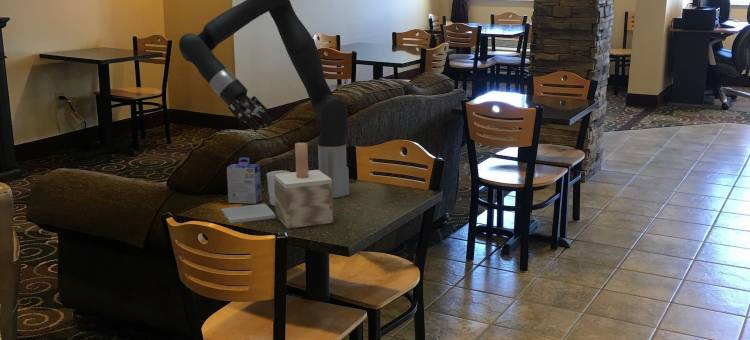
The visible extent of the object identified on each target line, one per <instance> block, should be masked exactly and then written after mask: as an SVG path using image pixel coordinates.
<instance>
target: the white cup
mask: <svg viewBox="0 0 750 340" xmlns="http://www.w3.org/2000/svg"><path fill="white" fill-rule="evenodd" d="M281 173H291V171H289V170H274V171H270V172H269V171H268V172H267V173H266V179H267V190H268V197H269V204H270V205H271V206H273V207H274V206H275V188H274V174H281Z"/></svg>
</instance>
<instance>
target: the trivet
mask: <svg viewBox="0 0 750 340" xmlns="http://www.w3.org/2000/svg"><path fill="white" fill-rule="evenodd" d="M220 210H221V211H220V212H221V213H222V215H223V214H224V215H223V216H224V217H225V219H226V218H227V219H228V220H227V219H226V220H227V222H228V223H229V222H230V223H229V224H236V223H237V222H238V223H244V222H254V221H261V220H263V221H264V220H269V219H270V220H271V219H272V220H273V219H277V217H276V213H275V212H274V210H273V211H272V209H271V208H270V207H269V206H268V205H267V204H266V203H260V204H253V205H252V204H250V205H242V206H232V207H226V208H224V207H223V208H220ZM235 222H236V223H235Z"/></svg>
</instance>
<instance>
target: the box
mask: <svg viewBox="0 0 750 340" xmlns="http://www.w3.org/2000/svg"><path fill="white" fill-rule="evenodd" d="M274 188H275V215H276V219H278V221H280V222H281V223H282V224H283V225H284V226H285V227H286V228H287V229H293V228H301V227H308V226H311V227H312V226H317V225H326V224H334V201H333V199H334V198H333V195H332V183H331V184H322V185H313V186H303V187H294V188H285V187H284V186H282V185H281V184H280V183H279V182H278V181H277V180H276V179H275V178H274Z"/></svg>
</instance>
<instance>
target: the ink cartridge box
mask: <svg viewBox="0 0 750 340" xmlns="http://www.w3.org/2000/svg"><path fill="white" fill-rule="evenodd" d="M242 160H243V161H242ZM244 160H246V161H244ZM250 161H251V160H250V157H244V156H243V157H241V156H240V157H239V159H238V162H237V164H236V163H232V164H230V165H228V166H227V167H226V177H227V178H226V179H227V197H228V198H227V199H228V203H231V204H250V205H252V204H253V205H257V203H259V202H262V201H263V200H262V198H263V197H262V184H261V183H262V182H261V181H262V180H261V178H262V177H261V165H260V163H258V164H253V163H250Z"/></svg>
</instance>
